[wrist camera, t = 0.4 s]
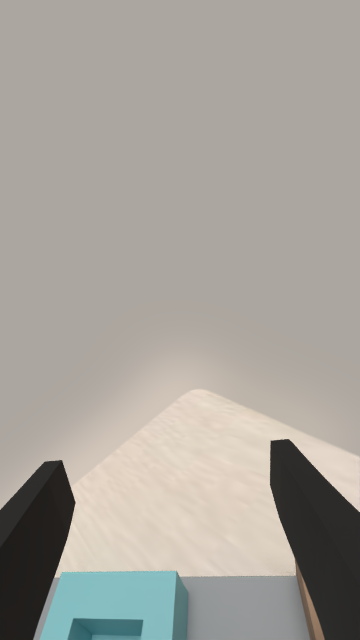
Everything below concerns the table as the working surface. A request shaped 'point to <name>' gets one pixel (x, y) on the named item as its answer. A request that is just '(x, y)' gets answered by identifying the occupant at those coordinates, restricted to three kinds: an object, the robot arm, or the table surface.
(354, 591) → the robot arm
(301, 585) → the walnut wall
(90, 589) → the teal block
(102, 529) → the table surface
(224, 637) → the slate board
